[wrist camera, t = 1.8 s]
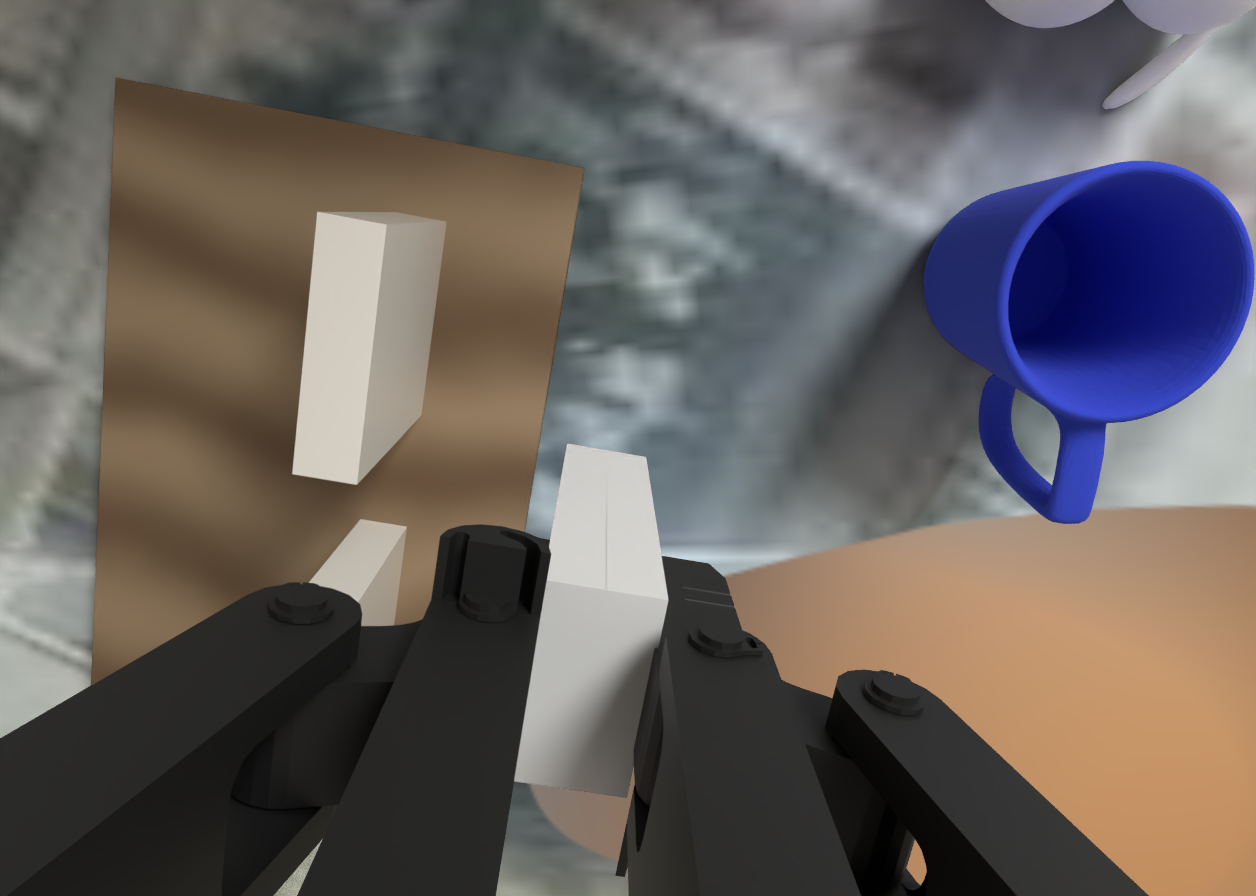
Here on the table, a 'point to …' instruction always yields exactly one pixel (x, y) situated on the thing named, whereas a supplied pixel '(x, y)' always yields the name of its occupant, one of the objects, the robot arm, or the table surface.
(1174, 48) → the crumpled paper ball
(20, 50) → the table surface
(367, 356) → the tile
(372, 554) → the tile
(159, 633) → the board
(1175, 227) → the mug
